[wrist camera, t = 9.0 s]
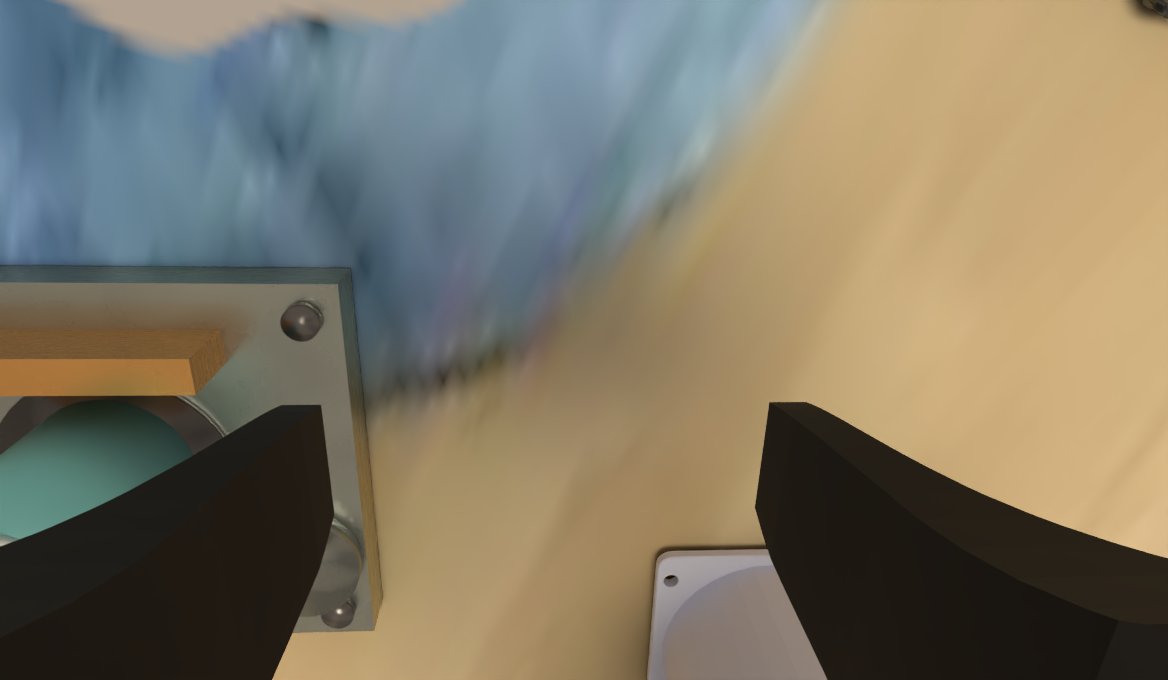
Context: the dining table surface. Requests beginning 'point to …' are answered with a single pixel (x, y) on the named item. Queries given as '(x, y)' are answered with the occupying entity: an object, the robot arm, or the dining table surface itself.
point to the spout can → (81, 463)
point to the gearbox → (206, 377)
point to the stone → (1158, 6)
